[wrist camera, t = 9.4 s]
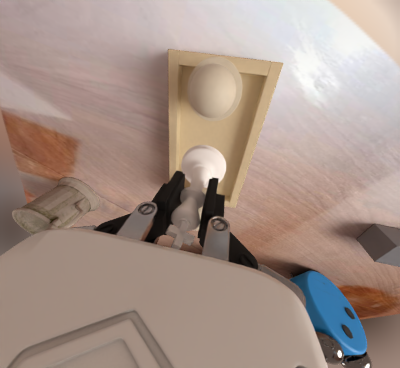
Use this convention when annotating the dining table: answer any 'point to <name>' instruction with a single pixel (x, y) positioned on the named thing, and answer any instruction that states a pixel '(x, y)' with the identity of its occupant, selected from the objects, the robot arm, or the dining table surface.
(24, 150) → the dining table surface
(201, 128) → the pawn tray
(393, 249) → the slate blocks
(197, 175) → the chess piece
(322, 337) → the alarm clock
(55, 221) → the mug
